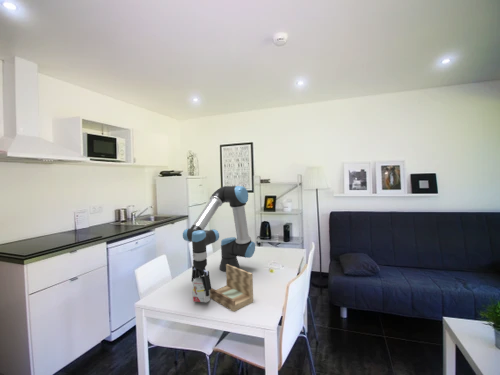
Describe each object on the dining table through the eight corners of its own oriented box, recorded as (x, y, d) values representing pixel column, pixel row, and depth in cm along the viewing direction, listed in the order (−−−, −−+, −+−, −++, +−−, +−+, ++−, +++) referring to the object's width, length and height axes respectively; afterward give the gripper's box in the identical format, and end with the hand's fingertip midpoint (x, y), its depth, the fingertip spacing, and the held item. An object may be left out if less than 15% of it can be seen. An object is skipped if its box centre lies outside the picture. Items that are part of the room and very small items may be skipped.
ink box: (192, 301, 137) (191, 280, 136) (196, 297, 142) (195, 277, 141) (207, 302, 135) (206, 281, 135) (210, 298, 140) (209, 277, 140)
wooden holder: (209, 297, 144) (208, 270, 144) (228, 289, 154) (227, 264, 153) (233, 311, 128) (232, 281, 128) (253, 301, 138) (252, 273, 137)
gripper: (183, 256, 143) (185, 294, 144) (205, 265, 127) (207, 308, 128) (195, 253, 148) (197, 289, 149) (217, 261, 132) (218, 302, 133)
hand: (201, 298), depth 139 cm, fingers closed on ink box, 9 cm apart
